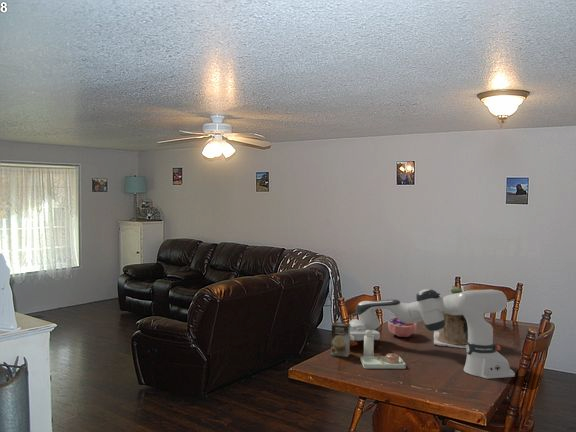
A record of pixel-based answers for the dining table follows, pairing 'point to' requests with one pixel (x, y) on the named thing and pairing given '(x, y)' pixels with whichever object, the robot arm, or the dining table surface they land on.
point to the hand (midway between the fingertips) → (363, 339)
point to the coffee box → (340, 339)
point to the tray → (380, 363)
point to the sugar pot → (392, 358)
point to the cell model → (401, 328)
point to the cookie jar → (453, 329)
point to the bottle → (369, 344)
